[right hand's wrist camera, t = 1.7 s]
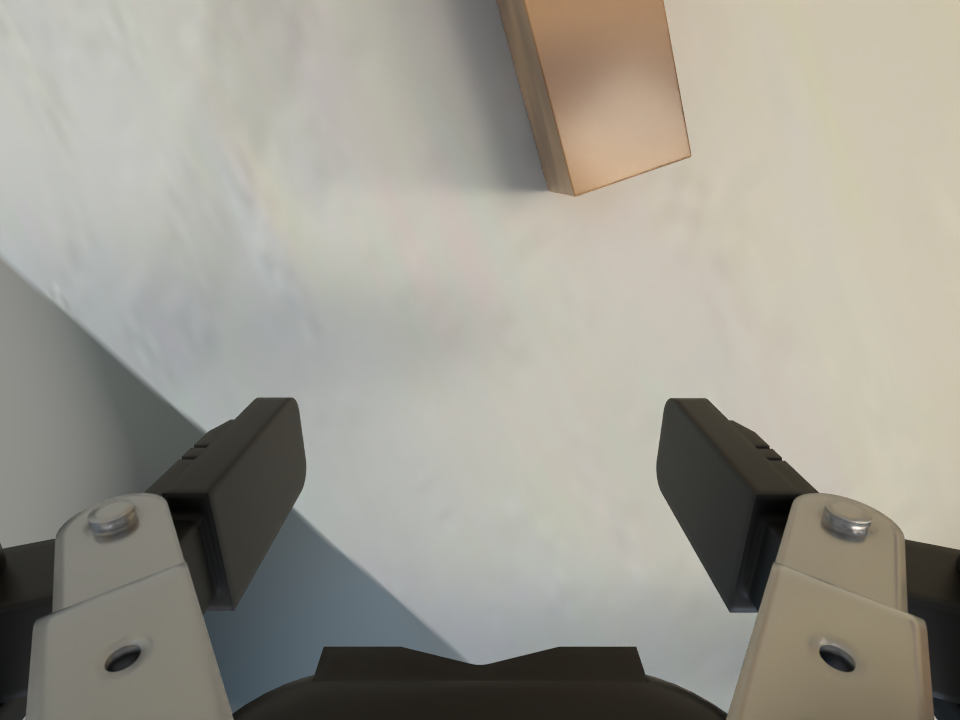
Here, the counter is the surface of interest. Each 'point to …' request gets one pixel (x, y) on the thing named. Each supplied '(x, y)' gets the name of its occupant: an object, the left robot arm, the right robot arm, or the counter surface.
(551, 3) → the post
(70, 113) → the counter surface
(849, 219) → the counter surface
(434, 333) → the counter surface
